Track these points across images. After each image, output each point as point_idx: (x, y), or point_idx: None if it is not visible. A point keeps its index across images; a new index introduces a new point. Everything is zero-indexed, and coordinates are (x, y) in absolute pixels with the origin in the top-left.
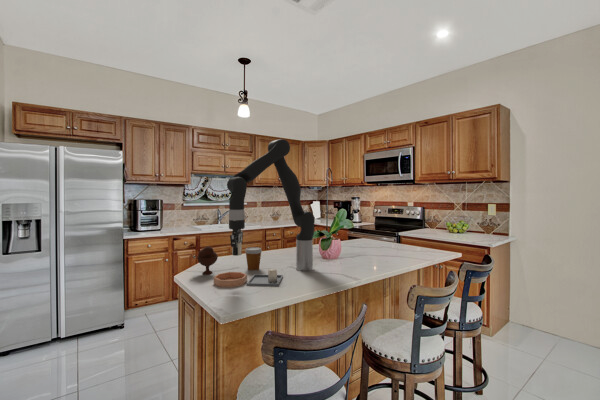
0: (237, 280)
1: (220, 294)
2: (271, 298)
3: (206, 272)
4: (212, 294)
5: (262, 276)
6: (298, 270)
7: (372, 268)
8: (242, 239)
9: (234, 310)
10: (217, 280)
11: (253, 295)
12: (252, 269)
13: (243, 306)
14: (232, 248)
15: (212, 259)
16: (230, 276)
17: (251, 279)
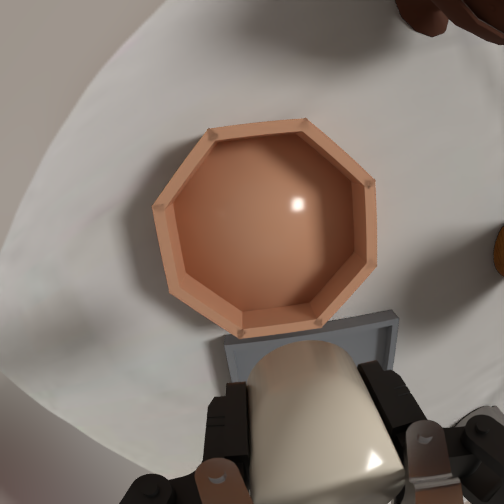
0: (203, 311)
1: (80, 257)
2: (128, 440)
3: (411, 4)
4: (68, 218)
5: (384, 356)
6: (459, 423)
7: None
8: (490, 485)
9: (5, 362)
10: (169, 182)
11: (126, 391)
12: (497, 255)
13: (34, 379)
14: (274, 418)
15: (458, 14)
16: (354, 189)
17: (311, 338)
